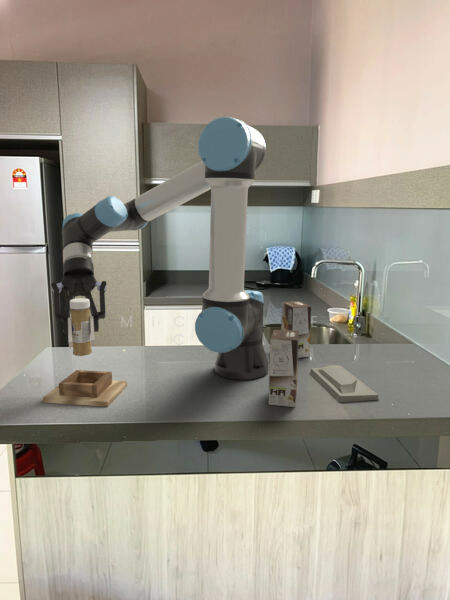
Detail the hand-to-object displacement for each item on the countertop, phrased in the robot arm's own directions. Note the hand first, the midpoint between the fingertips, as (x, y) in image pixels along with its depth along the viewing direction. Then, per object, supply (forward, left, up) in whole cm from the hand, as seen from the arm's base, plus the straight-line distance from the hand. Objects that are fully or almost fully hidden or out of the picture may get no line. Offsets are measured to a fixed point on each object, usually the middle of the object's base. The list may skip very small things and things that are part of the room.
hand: (81, 343), depth 107 cm
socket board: (+1, -3, -14) cm, 14 cm away
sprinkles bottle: (+2, -4, -4) cm, 6 cm away
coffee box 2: (-47, -7, -14) cm, 50 cm away
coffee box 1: (-50, -43, -14) cm, 68 cm away
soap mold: (-62, -18, -15) cm, 66 cm away
